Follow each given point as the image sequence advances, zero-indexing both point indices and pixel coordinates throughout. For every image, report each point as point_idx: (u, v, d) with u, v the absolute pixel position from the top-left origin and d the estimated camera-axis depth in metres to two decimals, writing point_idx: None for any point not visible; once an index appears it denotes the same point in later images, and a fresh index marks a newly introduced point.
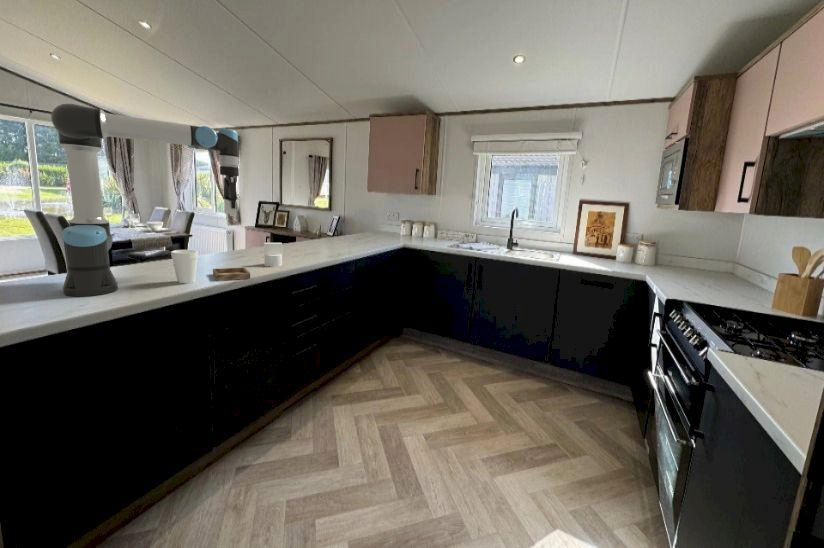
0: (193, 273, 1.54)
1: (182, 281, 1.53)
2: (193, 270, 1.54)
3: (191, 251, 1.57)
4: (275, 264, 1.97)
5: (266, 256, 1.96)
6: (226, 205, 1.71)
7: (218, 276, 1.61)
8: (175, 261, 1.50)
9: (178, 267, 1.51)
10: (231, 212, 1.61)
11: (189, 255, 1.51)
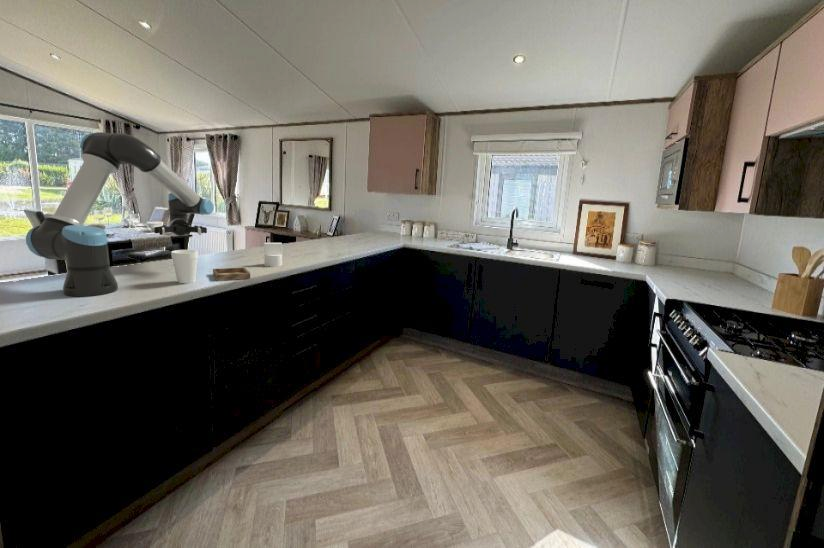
0: (193, 273, 1.54)
1: (182, 281, 1.53)
2: (193, 270, 1.54)
3: (191, 251, 1.57)
4: (275, 264, 1.97)
5: (266, 256, 1.96)
6: (164, 229, 1.61)
7: (218, 276, 1.61)
8: (175, 261, 1.50)
9: (178, 267, 1.51)
10: (200, 230, 1.66)
11: (189, 255, 1.51)
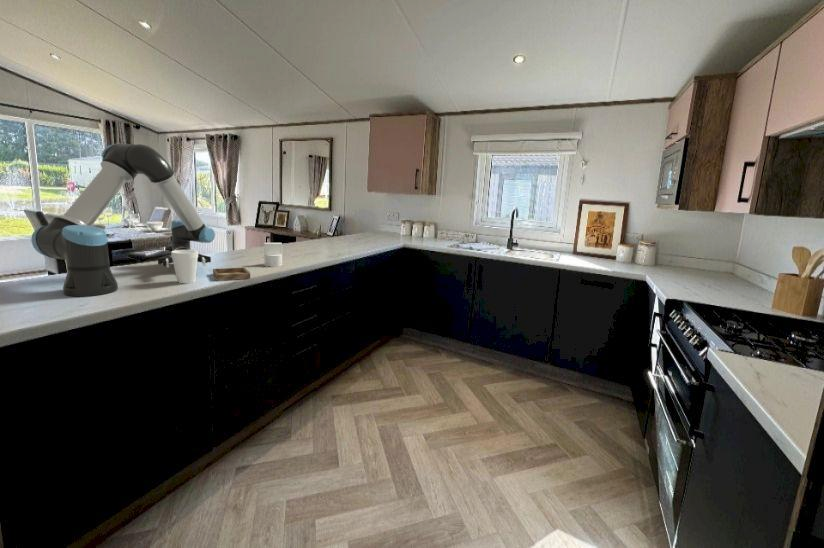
0: (193, 273, 1.54)
1: (182, 281, 1.53)
2: (193, 270, 1.54)
3: (191, 251, 1.57)
4: (275, 264, 1.97)
5: (266, 256, 1.96)
6: None
7: (218, 276, 1.61)
8: (175, 261, 1.50)
9: (178, 267, 1.51)
10: (205, 260, 1.64)
11: (189, 255, 1.51)
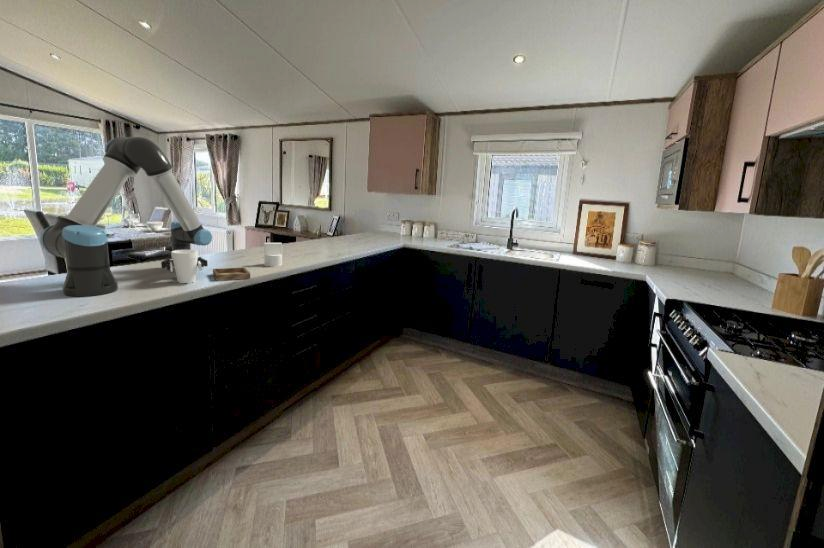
0: (193, 273, 1.54)
1: (182, 281, 1.53)
2: (193, 270, 1.54)
3: (191, 251, 1.57)
4: (275, 264, 1.97)
5: (266, 256, 1.96)
6: (172, 264, 1.51)
7: (218, 276, 1.61)
8: (175, 261, 1.50)
9: (178, 267, 1.51)
10: (201, 264, 1.55)
11: (189, 255, 1.51)
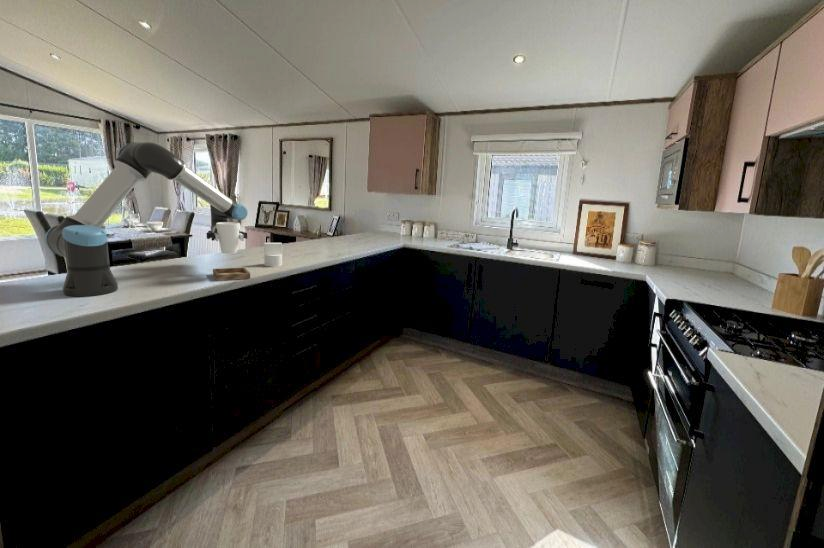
0: (236, 243, 1.66)
1: (226, 251, 1.64)
2: (236, 241, 1.65)
3: (233, 223, 1.69)
4: (275, 264, 1.97)
5: (266, 256, 1.96)
6: None
7: (218, 276, 1.61)
8: (220, 232, 1.61)
9: (223, 237, 1.62)
10: None
11: (233, 226, 1.62)
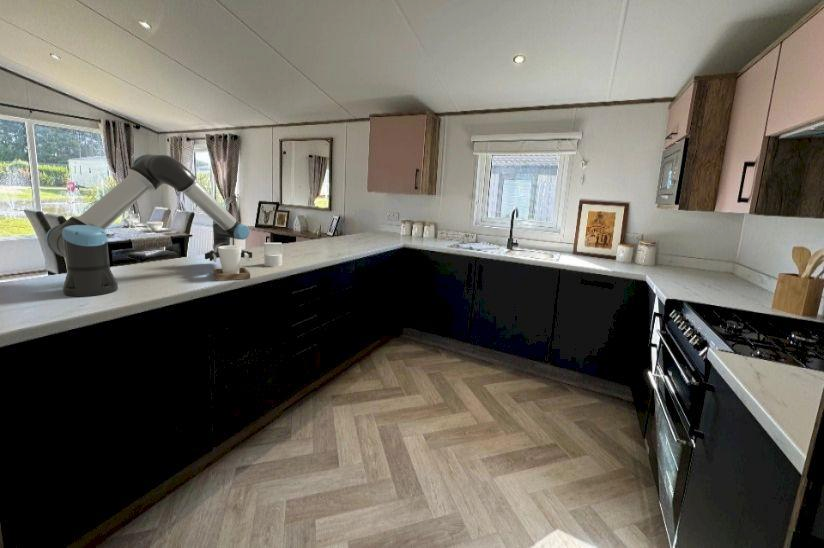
0: (237, 267, 1.68)
1: None
2: (237, 264, 1.68)
3: (235, 247, 1.71)
4: (275, 264, 1.97)
5: (266, 256, 1.96)
6: None
7: (218, 276, 1.61)
8: (221, 256, 1.64)
9: (224, 261, 1.64)
10: None
11: (234, 250, 1.64)
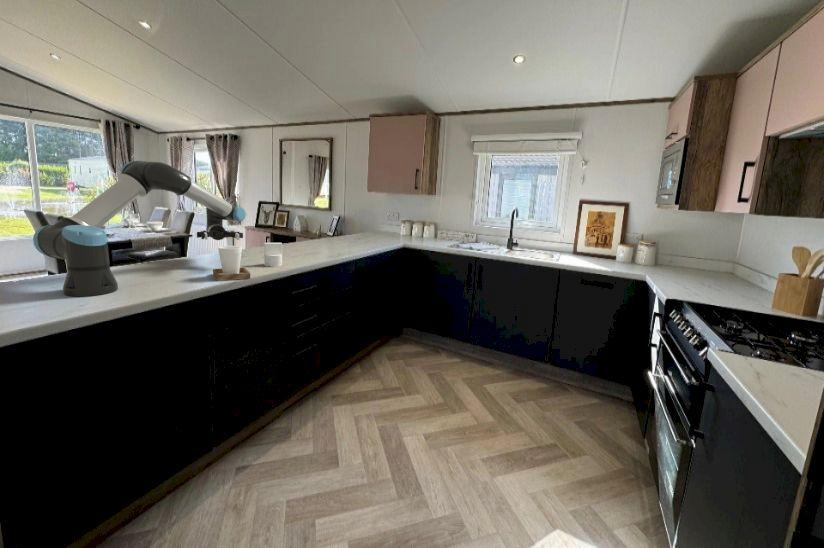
0: (237, 267, 1.68)
1: None
2: (237, 264, 1.68)
3: (235, 247, 1.71)
4: (275, 264, 1.97)
5: (266, 256, 1.96)
6: None
7: (218, 276, 1.61)
8: (222, 256, 1.64)
9: (225, 261, 1.65)
10: None
11: (235, 250, 1.65)
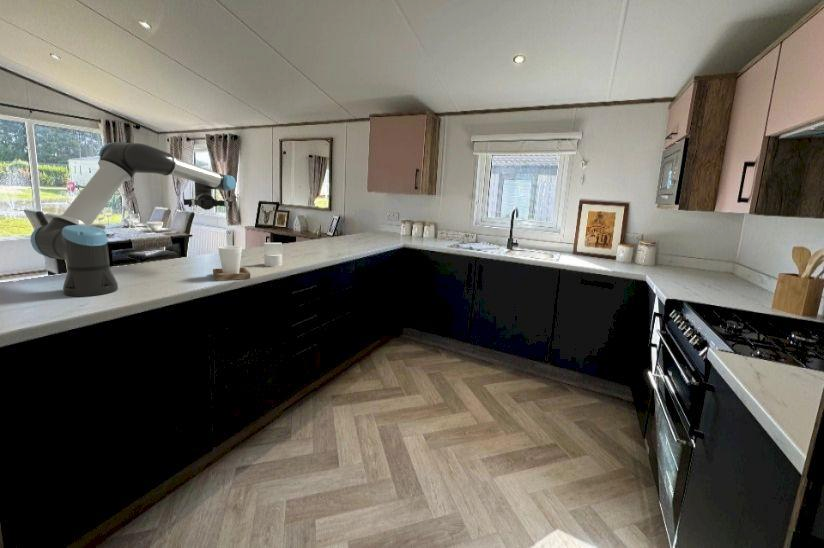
0: (237, 267, 1.68)
1: None
2: (237, 264, 1.68)
3: (235, 247, 1.71)
4: (275, 264, 1.97)
5: (266, 256, 1.96)
6: None
7: (218, 276, 1.61)
8: (222, 256, 1.64)
9: (225, 261, 1.65)
10: (227, 203, 1.74)
11: (235, 250, 1.65)
